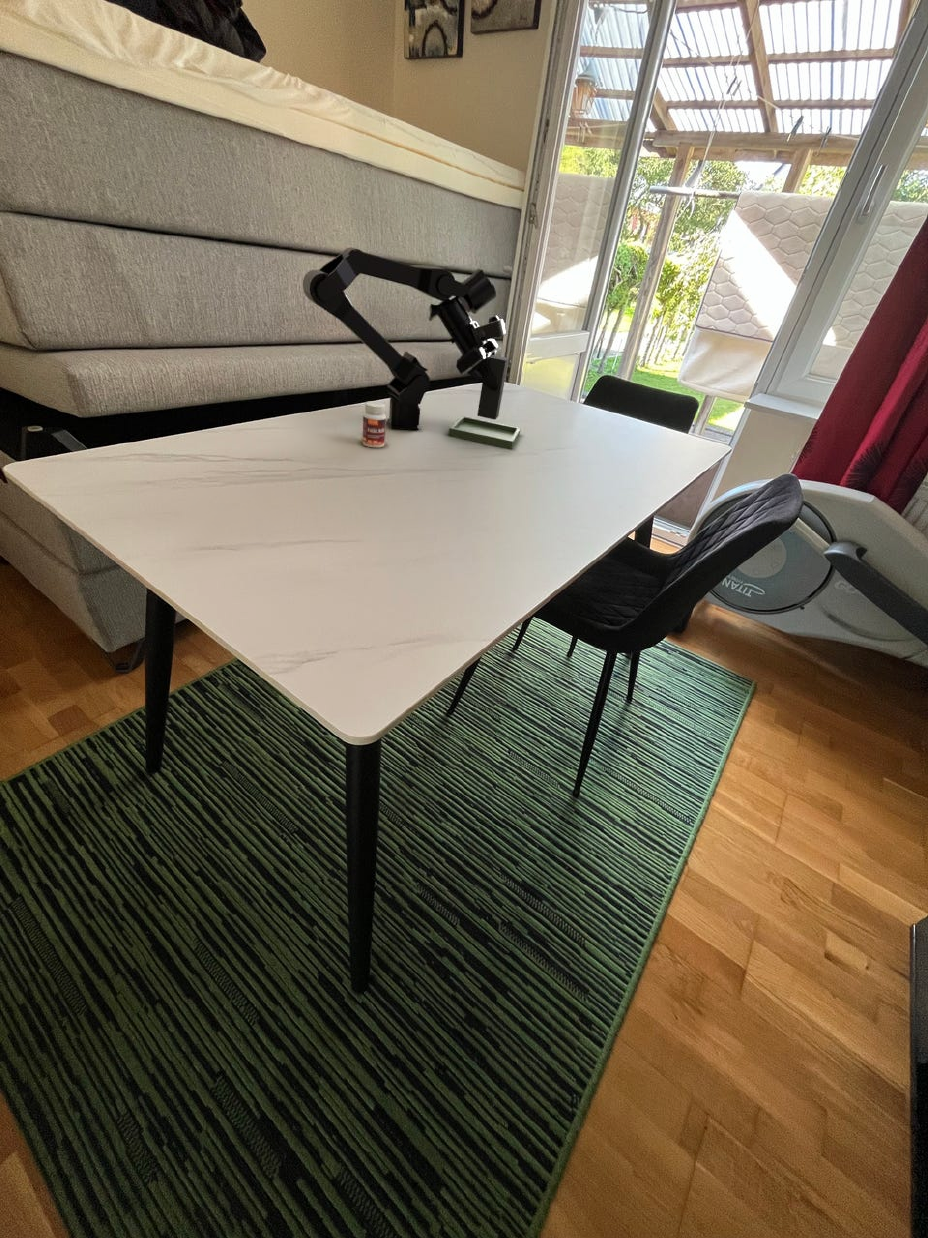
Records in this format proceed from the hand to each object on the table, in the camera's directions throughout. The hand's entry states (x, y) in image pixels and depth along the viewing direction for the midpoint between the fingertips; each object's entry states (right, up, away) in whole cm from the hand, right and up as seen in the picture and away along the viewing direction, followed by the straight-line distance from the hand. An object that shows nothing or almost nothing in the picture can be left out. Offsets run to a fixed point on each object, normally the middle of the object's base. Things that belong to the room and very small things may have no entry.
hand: (498, 388), depth 121 cm
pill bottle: (-28, -17, -9) cm, 34 cm away
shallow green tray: (-3, -9, +7) cm, 11 cm away
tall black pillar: (-2, -5, +4) cm, 7 cm away
